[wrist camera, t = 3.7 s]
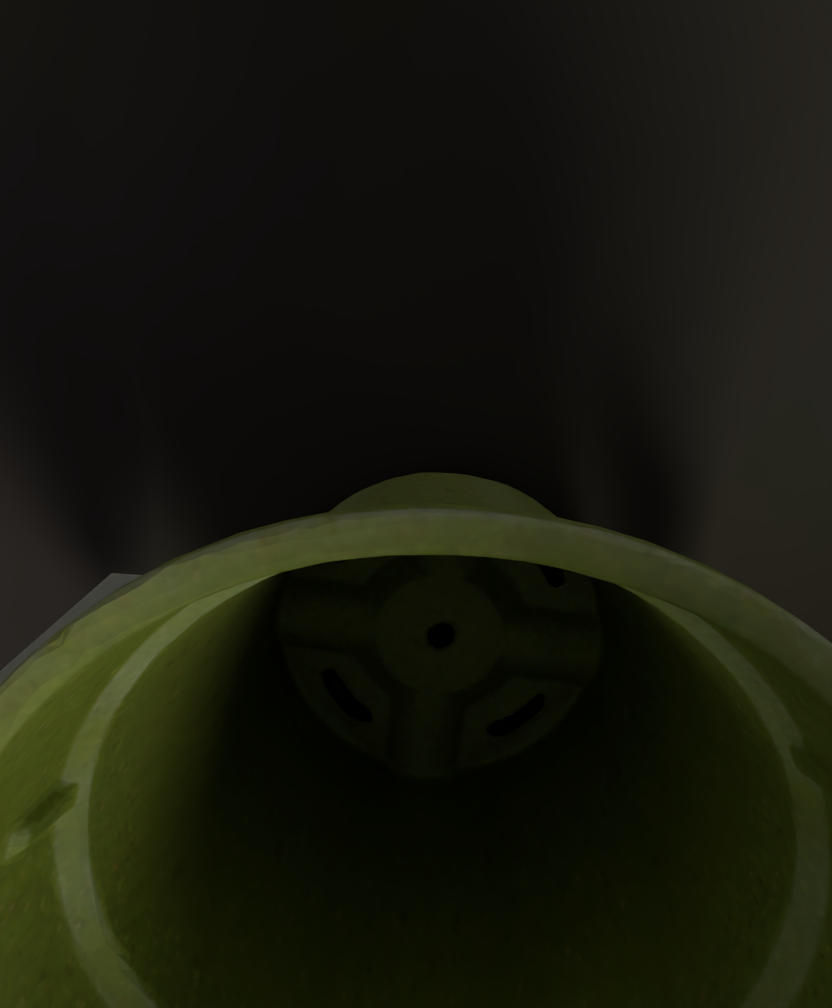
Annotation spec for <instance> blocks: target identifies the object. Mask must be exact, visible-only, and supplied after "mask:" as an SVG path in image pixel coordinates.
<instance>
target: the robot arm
mask: <svg viewBox="0 0 832 1008" xmlns="http://www.w3.org/2000/svg"><path fill="white" fill-rule="evenodd" d="M140 576H142V575H132V574H118V573H111V574H110V575H109V576H108V577H107V578H106V579H104V580H103V581H102V582H101V583H100V584H99V585H98V586H96V587H95V588H94V589H93V590H92V591H91V592H90V593H89V594H87V595H86V596H85V597H84V598H83V599H82V600H81V601H79V602H78V603H77V604H76V605H75V606H74V607H73V608H71V609H70V610H69V611H68V612H67V613H66V614H65V615H63V616H62V617H61V618H60V619H59V620H58V621H57V622H56V623H54V624H53V625H52V626H51V627H50V628H49V629H48V630H46V631H45V632H44V633H43V634H42V635H41V636H40V637H38V638H37V639H36V640H35V641H34V642H33V643H32V644H30V645H29V646H28V647H27V648H26V649H25V650H24V651H23V652H21V653H20V654H19V655H18V656H17V657H16V658H15V659H13V660H12V661H11V662H10V663H9V664H8V665H7V666H5V667H4V668H3V669H2V670H1V671H0V684H1V683H2V681H3V680H4V679H5V678H6V677H7V676H8V675H9V674H10V673H11V672H12V671H13V670H14V669H15V668H16V667H17V666H18V665H19V664H20V663H21V662H22V661H24V660H25V659H26V658H27V657H28V656H29V655H30V654H31V653H32V652H33V651H34V650H36V649H37V648H38V647H39V646H40V645H41V644H43V643H44V642H45V641H46V640H48V639H49V638H50V637H51V636H53V635H54V634H55V633H56V632H58V631H59V630H60V629H61V628H63V627H64V626H65V625H66V624H68V623H69V622H70V621H71V620H73V619H74V618H76V617H77V616H78V615H80V614H81V613H83V612H84V611H86V610H87V609H89V608H90V607H91V606H93V605H94V604H96V603H97V602H99V601H100V600H102V599H103V598H105V597H106V596H108V595H109V594H111V593H112V592H114V591H115V590H117V589H119V588H120V587H122V586H124V585H125V584H127V583H129V582H131V581H133V580H135V579H136V578H138V577H140Z"/></svg>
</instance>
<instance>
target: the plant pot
mask: <svg viewBox="0 0 832 1008" xmlns="http://www.w3.org/2000/svg"><path fill="white" fill-rule="evenodd" d="M339 560H345V561H344V562H335V561H339ZM538 564H541V565H546V566H551V567H556V568H561V569H563V573H564V583H563V584H562V585H560V586H558V587H557V588H555V587H553V586H551V585H550V584H549V583H548V582H547V580H546V577H545V575H544V574H543V572H542V571H541V569H540V568H539V566H538ZM439 623H446V624H448V625H450V626H451V627H452V628H453V629H454V630H455V638H454V640H453V642H452V643H451V644H450V645H448V646H447V647H442V648H438V649H436V648H435V647H433V646H432V645H431V644H430V643H429V642H428V638H427V633H428V631H429V629H431V628H433V627H434V626H435V625H436V624H439ZM326 669H332V670H335V671H336V673H337V674H338V675H339V677H340V678H341V679H342V680H343V682H344V683H345V685H346V687H347V688H348V689H349V691H350V692H351V694H352V695H353V696H354V697H355V698H356V699H357V700H358V701H359V702H360V703H361V704H363V705H364V706H366V707H367V708H368V709H369V710H370V711H371V713H372V717H373V718H372V721H370V722H361V721H359V720H356V719H354V718H352V717H351V716H349V715H348V714H347V713H345V712H344V711H343V710H342V709H341V708H340V707H339V705H338V704H337V702H336V701H335V700H334V699H333V698H332V697H331V696H330V695H329V693H328V691H327V689H326V687H325V684H324V681H323V679H322V676H323V671H324V670H326ZM538 693H540V694H543V695H544V699H543V700H544V707H543V708H542V709H541V710H540V711H539V712H538V713H537V714H536V715H535V716H534V717H532V718H531V719H530V720H528V721H527V722H526V723H524V724H523V725H522V726H520V727H519V728H517V729H515V730H514V731H512V732H510V733H508V734H506V735H504V736H491V735H490V734H489V733H488V732H486V729H487V727H488V726H490V725H491V724H493V723H494V722H496V721H497V720H500V719H503V718H504V717H506V716H510V715H513V714H514V713H516V712H517V711H518V710H519V709H520V708H521V707H522V706H526V704H527V703H528V702H529V701H530V700H531V699H532V698H534V697H535V696H536V695H537V694H538ZM0 1008H832V643H830V642H829V641H828V640H827V639H825V638H824V637H823V636H821V635H820V634H819V633H817V632H816V631H815V630H813V629H812V628H811V627H809V626H808V625H807V624H805V623H804V622H802V621H801V620H800V619H798V618H797V617H795V616H794V615H792V614H791V613H789V612H788V611H786V610H784V609H783V608H781V607H780V606H778V605H777V604H775V603H773V602H772V601H770V600H769V599H767V598H765V597H764V596H762V595H761V594H759V593H758V592H756V591H754V590H753V589H751V588H750V587H748V586H746V585H744V584H742V583H740V582H738V581H736V580H734V579H732V578H730V577H728V576H726V575H724V574H722V573H720V572H718V571H716V570H714V569H712V568H710V567H709V566H707V565H705V564H702V563H700V562H698V561H695V560H693V559H690V558H688V557H685V556H683V555H680V554H678V553H675V552H673V551H670V550H668V549H666V548H663V547H661V546H658V545H656V544H653V543H651V542H648V541H645V540H642V539H638V538H635V537H632V536H629V535H625V534H622V533H619V532H615V531H612V530H609V529H605V528H602V527H598V526H594V525H590V524H585V523H581V522H576V521H572V520H567V519H563V518H558V517H556V516H555V515H554V514H553V513H551V512H550V511H549V510H547V509H546V508H545V507H543V506H542V505H541V504H540V503H538V502H537V501H536V500H534V499H533V498H531V497H529V496H528V495H526V494H524V493H522V492H521V491H519V490H517V489H514V488H512V487H510V486H508V485H505V484H502V483H499V482H496V481H492V480H488V479H484V478H479V477H475V476H470V475H463V474H455V473H416V474H411V475H406V476H401V477H396V478H392V479H389V480H386V481H383V482H380V483H378V484H375V485H373V486H370V487H368V488H365V489H363V490H361V491H359V492H357V493H355V494H353V495H352V496H350V497H349V498H347V499H346V500H344V501H342V502H341V503H340V504H338V505H337V506H336V507H335V508H333V509H332V510H331V511H329V512H326V513H321V514H316V515H311V516H306V517H301V518H295V519H290V520H285V521H281V522H278V523H274V524H270V525H267V526H263V527H259V528H255V529H252V530H248V531H244V532H241V533H238V534H235V535H232V536H230V537H227V538H225V539H222V540H220V541H217V542H215V543H212V544H209V545H207V546H204V547H202V548H199V549H197V550H194V551H192V552H189V553H187V554H184V555H181V556H179V557H176V558H174V559H172V560H170V561H168V562H166V563H164V564H162V565H161V566H159V567H157V568H155V569H153V570H151V571H149V572H148V573H146V574H144V575H142V576H140V577H138V578H136V579H135V580H133V581H131V582H129V583H127V584H125V585H124V586H122V587H120V588H119V589H117V590H115V591H114V592H112V593H111V594H109V595H108V596H106V597H105V598H103V599H102V600H100V601H99V602H97V603H96V604H94V605H93V606H91V607H90V608H89V609H87V610H86V611H84V612H83V613H81V614H80V615H78V616H77V617H76V618H74V619H73V620H71V621H70V622H69V623H68V624H66V625H65V626H64V627H63V628H61V629H60V630H59V631H58V632H56V633H55V634H54V635H53V636H51V637H50V638H49V639H48V640H46V641H45V642H44V643H43V644H41V645H40V646H39V647H38V648H37V649H36V650H34V651H33V652H32V653H31V654H30V655H29V656H28V657H27V658H26V659H25V660H24V661H22V662H21V663H20V664H19V665H18V666H17V667H16V668H15V669H14V670H13V671H12V672H11V673H10V674H9V675H8V676H7V677H6V678H5V679H4V680H3V681H2V683H1V684H0Z"/></svg>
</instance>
